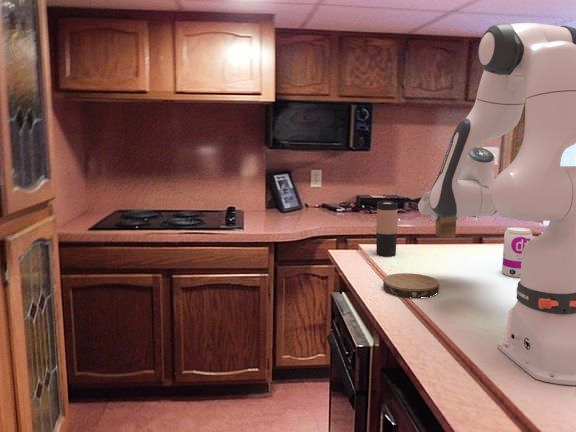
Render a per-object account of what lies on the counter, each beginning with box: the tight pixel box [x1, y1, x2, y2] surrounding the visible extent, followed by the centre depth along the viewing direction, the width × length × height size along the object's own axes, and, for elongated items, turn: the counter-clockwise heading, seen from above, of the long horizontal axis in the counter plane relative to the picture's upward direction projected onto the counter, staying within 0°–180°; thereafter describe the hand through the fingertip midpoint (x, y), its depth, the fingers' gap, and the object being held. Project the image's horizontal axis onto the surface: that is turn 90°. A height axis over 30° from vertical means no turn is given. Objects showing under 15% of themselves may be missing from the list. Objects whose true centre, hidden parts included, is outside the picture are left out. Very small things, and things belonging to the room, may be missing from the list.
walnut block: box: [434, 217, 457, 239], centre depth 155 cm, size 5×5×10 cm
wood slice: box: [382, 272, 440, 299], centre depth 148 cm, size 16×16×3 cm
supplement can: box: [501, 226, 534, 279], centre depth 161 cm, size 8×8×15 cm
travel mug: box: [375, 200, 399, 258], centre depth 188 cm, size 8×8×20 cm
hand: (445, 218), depth 156 cm, fingers closed on walnut block, 5 cm apart
